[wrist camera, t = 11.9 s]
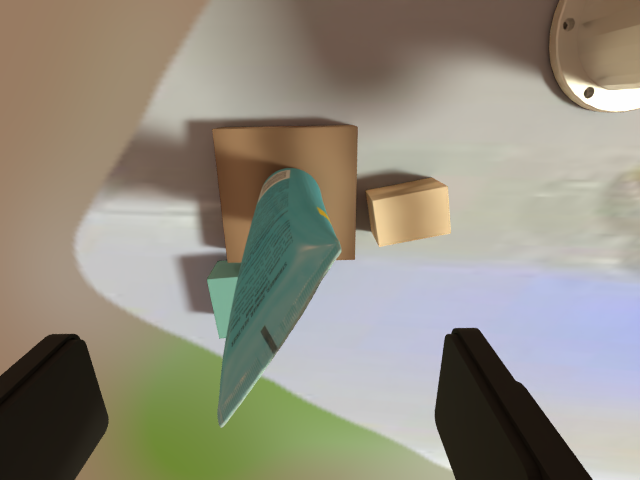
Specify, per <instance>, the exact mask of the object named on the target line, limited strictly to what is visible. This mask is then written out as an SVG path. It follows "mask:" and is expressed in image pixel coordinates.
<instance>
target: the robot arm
mask: <svg viewBox="0 0 640 480" xmlns="http://www.w3.org/2000/svg"><path fill="white" fill-rule="evenodd" d="M563 25H564V28H563ZM549 53H550V61H551V67H552V70H553V73H554V76H555V79H556V81H557V82H558V84H559V86H560V87H561V89H562V91H563V92H564V93H565V94H566V95H567V96H568V97H569V98H570V99H571V100H572V101H573V102H575V103H577V104H578V105H580V106H581V107H584V108H587V109H590V110H593V111H598V112H626V111H631V110H636V109H640V0H559V3H558V5H557V8H556V10H555V13H554V17H553V21H552V26H551V30H550V42H549ZM435 422H436V426H437V430H438V432H439V435H440V438H441V440H442V443H443V446H444V449H445V451H446V454H447V457H448V460H449V462H450V465H451V468H452V470H453V473H454V476H455V479H456V480H593V479H592V478H591V477H590V475H589V474H588V473H587V471H586V470H585V468H584V467H583V466H582V464H581V463H580V462H579V460H578V459H577V457H576V456H575V455H574V453H573V452H572V451H571V449H570V448H569V447H568V445H567V444H566V442H565V441H564V440H563V438H562V437H561V436H560V434H559V433H558V431H557V430H556V429H555V427H554V426H553V425H552V423H551V422H550V421H549V419H548V418H547V416H546V415H545V414H544V412H543V411H542V410H541V408H540V407H539V405H538V404H537V403H536V401H535V400H534V399H533V397H532V396H531V395H530V393H529V392H528V390H527V389H526V388H525V387H524V386H523V385H522V384H521V383H519V382H517V381H515V379H514V378H513V376H512V375H511V374H510V372H509V371H508V369H507V368H506V367H505V365H504V364H503V362H502V361H501V360H500V358H499V357H498V355H497V354H496V353H495V351H494V350H493V348H492V347H491V346H490V344H489V343H488V341H487V340H486V339H485V337H484V336H483V334H482V333H481V332H480V330H479V329H477V328H455V329H453V331H452V333H451V334H447V335H446V336H445V340H444V348H443V355H442V363H441V370H440V377H439V385H438V392H437V399H436V407H435ZM107 427H108V414H107V411H106V408H105V405H104V401H103V398H102V395H101V391H100V388H99V385H98V381H97V378H96V375H95V372H94V368H93V365H92V362H91V358H90V355H89V352H88V349H87V345H86V343H85V341H83V340H81V339H80V338H79V336H78V335H76V334H52V335H49V336H47V337H45V338H44V339H43V340H42V341H40V342H39V343H38V344H37V345H36V346H35V347H34V348H32V349H31V350H30V351H29V352H28V353H27V354H25V355H24V356H23V357H22V358H21V359H19V360H18V361H17V362H16V363H15V364H14V365H12V366H11V367H10V368H9V369H8V370H7V371H5V372H4V373H3V374H2V375H1V376H0V480H75V478H76V476H77V475H78V474H79V472H80V471H81V469H82V468H83V466H84V464H85V463H86V461H87V460H88V458H89V457H90V455H91V454H92V452H93V451H94V449H95V447H96V446H97V444H98V443H99V441H100V439H101V438H102V437H103V435H104V434H105V431H106V429H107Z"/></svg>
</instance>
